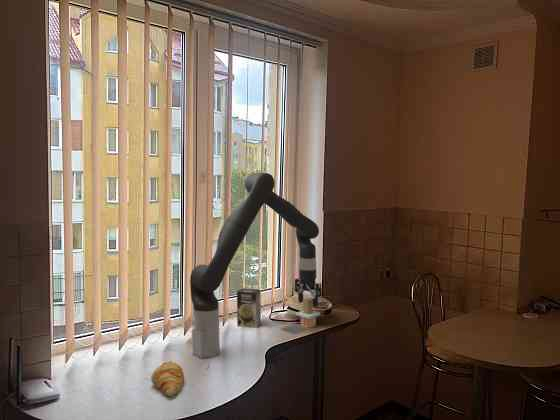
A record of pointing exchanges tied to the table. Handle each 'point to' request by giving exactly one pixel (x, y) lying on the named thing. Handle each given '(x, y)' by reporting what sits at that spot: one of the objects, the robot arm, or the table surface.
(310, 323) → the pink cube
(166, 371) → the croissant
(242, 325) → the coffee box
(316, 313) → the lid
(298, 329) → the mat
